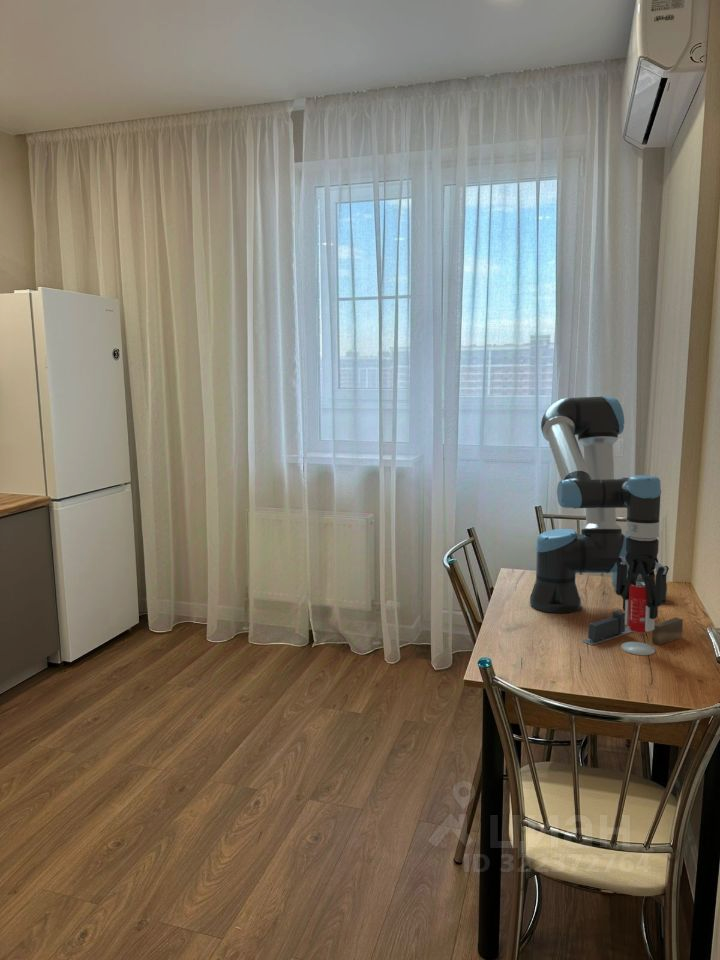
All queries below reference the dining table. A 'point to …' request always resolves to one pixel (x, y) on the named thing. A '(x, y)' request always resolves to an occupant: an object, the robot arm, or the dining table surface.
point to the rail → (608, 637)
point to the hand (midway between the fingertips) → (639, 626)
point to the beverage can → (637, 607)
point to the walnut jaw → (667, 631)
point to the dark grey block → (607, 626)
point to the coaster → (638, 648)
